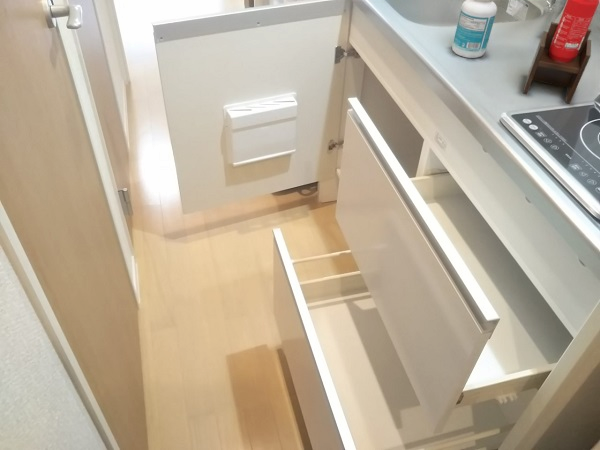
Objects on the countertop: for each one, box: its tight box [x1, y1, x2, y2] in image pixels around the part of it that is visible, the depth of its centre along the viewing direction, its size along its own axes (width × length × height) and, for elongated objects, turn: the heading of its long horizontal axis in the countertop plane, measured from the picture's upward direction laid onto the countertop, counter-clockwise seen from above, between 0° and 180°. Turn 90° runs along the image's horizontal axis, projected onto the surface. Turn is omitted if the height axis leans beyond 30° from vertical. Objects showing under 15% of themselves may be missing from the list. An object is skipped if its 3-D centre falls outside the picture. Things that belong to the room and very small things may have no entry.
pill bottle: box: [451, 0, 498, 59], centre depth 114 cm, size 8×7×14 cm
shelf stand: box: [522, 21, 592, 105], centre depth 103 cm, size 9×8×12 cm
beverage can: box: [549, 0, 600, 63], centre depth 98 cm, size 5×5×12 cm
